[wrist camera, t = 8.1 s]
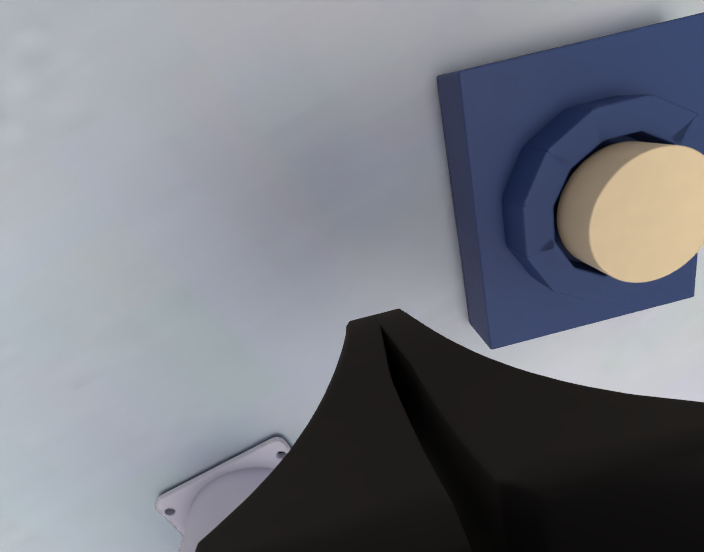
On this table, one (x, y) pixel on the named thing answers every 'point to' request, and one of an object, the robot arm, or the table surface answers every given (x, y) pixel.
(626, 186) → the disc
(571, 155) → the button base
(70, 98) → the table surface
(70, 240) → the table surface
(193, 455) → the table surface
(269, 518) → the robot arm
